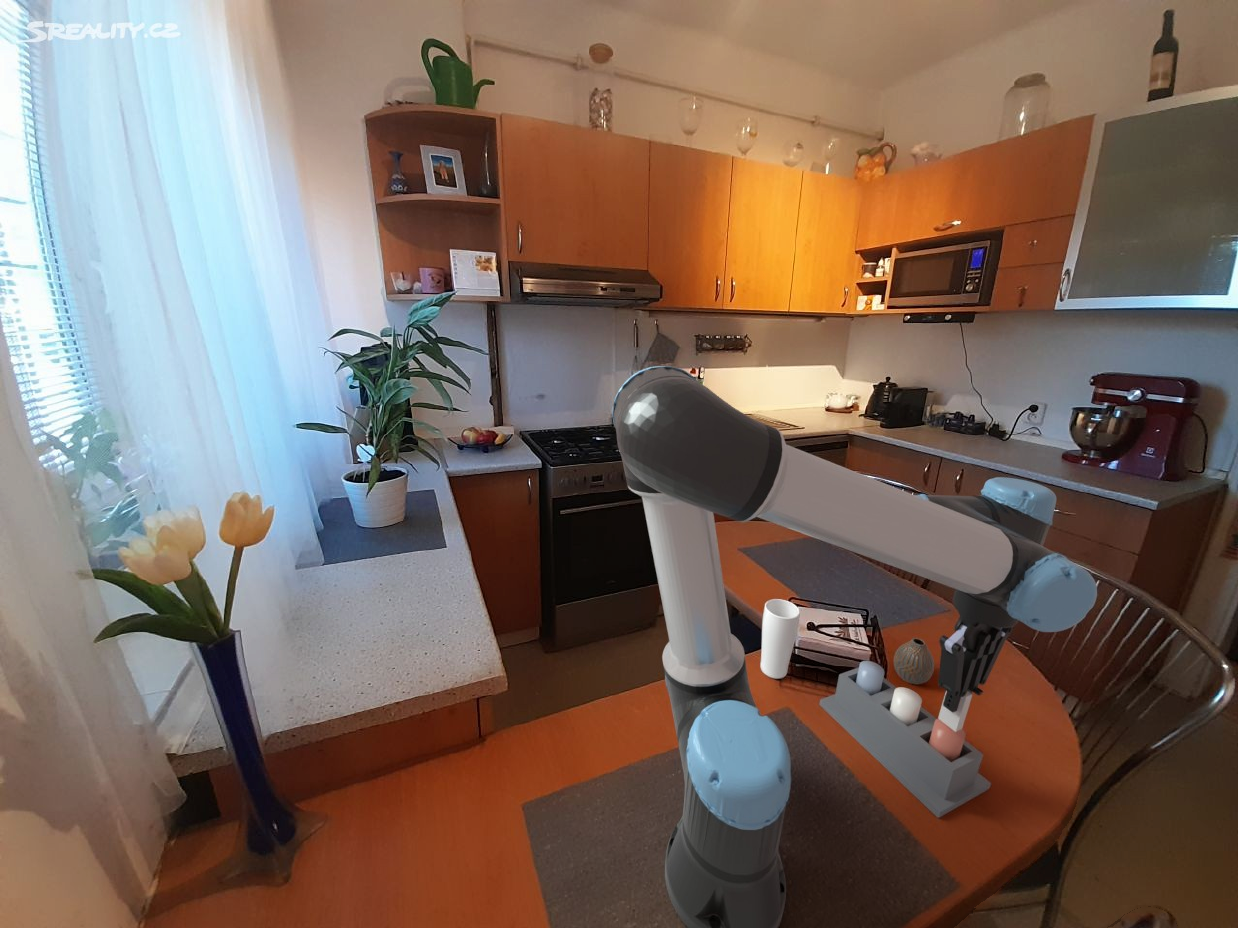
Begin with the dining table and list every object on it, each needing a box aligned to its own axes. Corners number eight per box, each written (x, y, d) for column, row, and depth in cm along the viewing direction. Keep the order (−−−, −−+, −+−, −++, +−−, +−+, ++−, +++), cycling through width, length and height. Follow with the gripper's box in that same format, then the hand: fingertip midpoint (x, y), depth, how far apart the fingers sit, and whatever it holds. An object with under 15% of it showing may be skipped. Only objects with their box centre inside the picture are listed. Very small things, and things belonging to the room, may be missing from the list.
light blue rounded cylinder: (866, 711, 85) (873, 679, 83) (848, 695, 89) (854, 664, 87) (882, 704, 87) (889, 672, 85) (863, 689, 90) (870, 658, 88)
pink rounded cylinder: (943, 778, 73) (954, 742, 71) (919, 757, 77) (928, 722, 74) (960, 769, 75) (971, 734, 72) (935, 748, 78) (945, 714, 76)
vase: (927, 695, 93) (937, 658, 91) (888, 679, 97) (896, 643, 94) (931, 675, 98) (941, 639, 96) (893, 660, 102) (902, 626, 100)
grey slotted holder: (938, 818, 70) (949, 782, 68) (819, 704, 90) (824, 674, 88) (989, 788, 75) (1000, 754, 73) (865, 686, 95) (871, 657, 93)
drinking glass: (795, 683, 95) (805, 619, 91) (761, 682, 96) (769, 618, 91) (784, 659, 102) (793, 598, 97) (752, 658, 102) (760, 597, 98)
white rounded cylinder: (902, 742, 79) (910, 708, 77) (881, 723, 83) (888, 691, 81) (918, 734, 81) (927, 701, 79) (897, 716, 84) (905, 684, 82)
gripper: (990, 614, 60) (946, 757, 67) (1049, 593, 65) (1002, 729, 72) (932, 583, 67) (898, 717, 74) (990, 567, 72) (952, 694, 79)
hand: (949, 723), depth 73 cm, fingers closed
